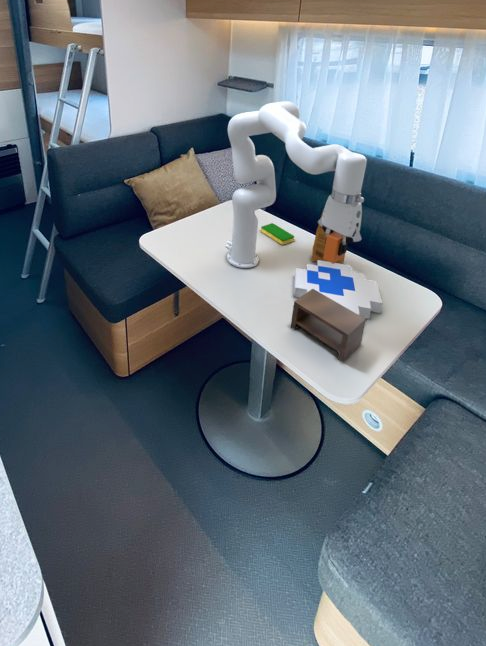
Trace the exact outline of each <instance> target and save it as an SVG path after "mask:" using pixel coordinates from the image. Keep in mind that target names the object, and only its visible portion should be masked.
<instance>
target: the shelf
mask: <svg viewBox="0 0 486 646" xmlns="http://www.w3.org/2000/svg"><path fill="white" fill-rule="evenodd" d="M366 322H367V318H363V317H361V316H360V315H358V314H356V313H354V312H353V311H351V310H349V309H347V308H346V307H344V306H342V305H341V304H339V303H337V302H335V301H334V300H332V299H330V298H328V297H327V296H325V295H323V294H321V293H320V292H318V291H316V290H314V289H311V290H310V291H308V292H307V293H306V294H304V295H303V296H301V297H300V298H298V297H297V299H295V300H293V308H292V314H291V321H290V328H291V329H293V330H294V331H295V330H297V329H298V328H299V327H300V328H302V329H303V330H305V331H307V333H309V334H311V335H312V336H314V337H315V338H316V339H318V340H320V341H321V342H323V344H325V345H327V346H329V347H330V348H332V349H333V350H335V351H336V352H338V355H337V360H338V361H340V362H341V363H344V362H345V361H346V360H347V359H348V358H349V357H350V356H351V355H352V354H354V352H355V351H356V350H358V349H359V348H360V347H361V344H362V339H363V335H364V330H365V326H366Z"/></svg>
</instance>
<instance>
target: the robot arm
mask: <svg viewBox="0 0 486 646" xmlns="http://www.w3.org/2000/svg"><path fill="white" fill-rule="evenodd" d="M300 118H301V112H300V108H299V107H298V105H297V104H296V103H294V102H292V101H288V100H284V101H276V102H270V103H266V104H264V105H262V106H261V107H260V109H259V110H255V111H246V112H241V113H237V114H236V115H234V116H232V117H231V118H230V120H229V121H228V125H227V136H228V139H229V144H230V147H231V157H232V167H233V176H234V179H235V181H236V182H237V183H239V184H240V185H241V184H243V185H244V184H250V183H254V182H255V183H254V184H250V185H245V186H242V187H240V188H237V189H236V190H235V191H234V192H233V193H232V197H231V202H232V210H233V219H232V233H231V240H227V242H226V244H225V245H224V247H225V249H228V252H227V254H226V260H227V262H228V263H229V264H230V265H232V266H233V267H236V268H239V269H251V268H254V267H256V266H257V265H258V264H259V260H260V259H259V256H258V254H256V249H257V241H258V240H257V238H258V229H259V228H258V227H259V219H258V217H257V215H256V214H255V212H256V211H257V210H260V209H263V208H267V207H270V206H272V205H273V204H274V203H275V202H276V198H277V187H276V186H277V185H276V176H275V175H276V173H275V166H274V163H273V162H272V159H270V158H271V157H269V156H267V155H264V154H258V155H256V148H255V144H254V142H253V140H252V139H251V138H250V137H253V136H258V135H264V134H270V133H272V134H273V135H274V136H275V137H277V138H278V139H279V140H281V141H282V142H283V143H284V144H285V150H286V153H287V156H288V157H289V159H290V161H292V162H293V163H294V164H295V165H296V166H297V167H299V168H300V169H301V170H302V171H304V172H305V173H307V174H310V175H321V174H324V173H328V172H334V175H333V176H334V178H333V183H332V187H331V194H330V195H329V196H328V197H327V200H326V202H325V205H324V208H323V210H324V212H323V211H322V213H323V216H322V218H321V217H320V219H318V221H317V224H318V225H319V224H320V226H321V227H322V229H323V230H324V232H325V236H326V239H327V235H329V234H331V233H333V232H334V231H336V232H338V233H340V234H342V243H340V245H339V250H338V255H339V256H341V255H342V254H344V253H345V254H347V251H348V247H349V244H351V243H357V242H361V240H362V239H363V238H362V235H361V233H360V231H361V227H362V217H363V205H362V203H364V202H365V198H364V197H363V196H362V188H363V183H364V179H365V173H366V168H367V164H368V163H367V162H368V159H367V158H366V157H365V155H363V154H361V153H358V152H355V151H354V152H352V151H351V150H349V149H348V148H347V147H344V146H342V145H341V144H337V143H333V144H328V145H322V146H318V147H317V146H316V147H312V146H310V145H308V144H307V143H305V141H304V140H303V138H304V136H305V134H306V133H307V125H306V124H305V122H304V121H303V120H301V119H300ZM325 244H326V241H325Z"/></svg>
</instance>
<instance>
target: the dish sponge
mask: <svg viewBox="0 0 486 646" xmlns="http://www.w3.org/2000/svg"><path fill="white" fill-rule="evenodd" d="M260 232H261V233H263V234H265V235H266V236H268V237H269V238H270V239H272V240H274V241H275V242H277V243H278V244H280V245H282V246H284V245H286V244H289V243H292V242H294V241H295V235H293V234H292V233H290V232H288V231H287V230H286V229H283V228H281V226H278V225H277V224H275V223H273V222H270V223H268V224H265V225H262V226H261V228H260Z"/></svg>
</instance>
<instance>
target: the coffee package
mask: <svg viewBox="0 0 486 646" xmlns="http://www.w3.org/2000/svg"><path fill="white" fill-rule="evenodd" d="M323 212H324V209H323V210H322V213H321V215H320V219H321V218H322V216H323ZM334 232H335V231H334ZM325 241H326V236H325V232H324V230H323V229H322V227H321V226H320V224H319V223H318V226H317V228H316V232H315V237H314V241H313V245H312V249H311V250H312V252H311V261H312V262H315V263H317V261H318V260H321V261H327V260H325V259H323V256H324V251H325V245H326V244H325ZM345 258H346V255H345V256H344V257H343V258H342V259H340V260H339V261H337V262H336V263H339V264H345ZM327 262H329V261H327Z"/></svg>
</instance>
